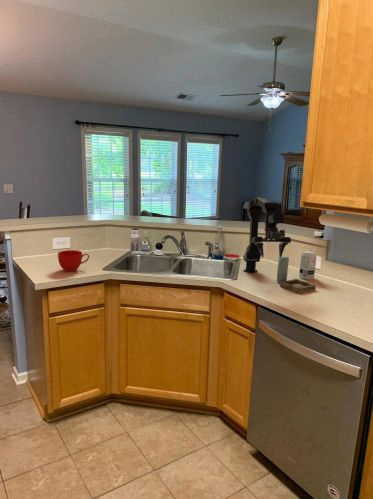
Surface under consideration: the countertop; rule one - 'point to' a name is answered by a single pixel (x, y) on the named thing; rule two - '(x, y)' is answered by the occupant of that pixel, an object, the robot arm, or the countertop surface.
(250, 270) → the robot arm
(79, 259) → the ceramic cup
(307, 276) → the supplement can
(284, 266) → the slate part
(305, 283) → the walnut tray
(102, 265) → the countertop surface
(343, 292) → the countertop surface
